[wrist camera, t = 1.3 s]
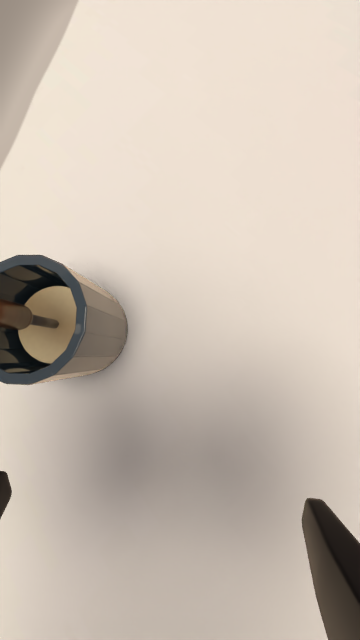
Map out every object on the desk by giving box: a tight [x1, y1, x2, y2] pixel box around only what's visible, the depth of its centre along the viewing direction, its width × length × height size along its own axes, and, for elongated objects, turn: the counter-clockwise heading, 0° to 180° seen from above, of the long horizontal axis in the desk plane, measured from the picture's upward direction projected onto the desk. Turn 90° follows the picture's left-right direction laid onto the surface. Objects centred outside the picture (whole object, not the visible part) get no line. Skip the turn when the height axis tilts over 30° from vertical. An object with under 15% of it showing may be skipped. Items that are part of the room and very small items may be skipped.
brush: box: [0, 286, 77, 364], centre depth 16 cm, size 5×5×14 cm
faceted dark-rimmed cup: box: [0, 255, 127, 385], centre depth 20 cm, size 7×7×8 cm
